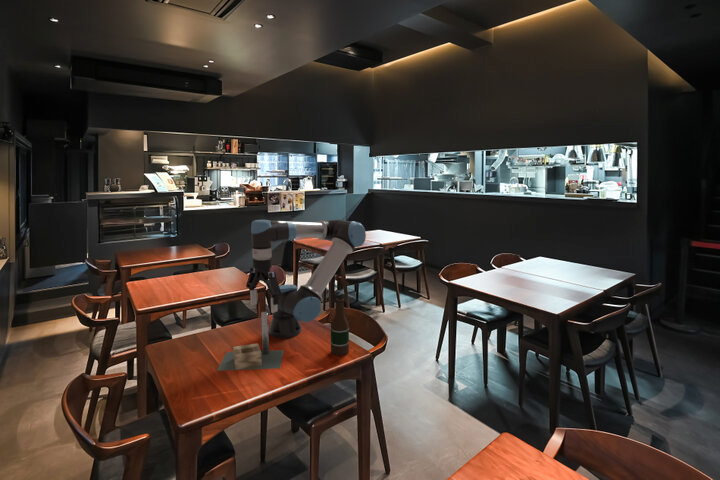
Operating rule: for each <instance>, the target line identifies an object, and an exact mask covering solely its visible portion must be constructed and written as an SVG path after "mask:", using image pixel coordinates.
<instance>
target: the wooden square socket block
mask: <svg viewBox="0 0 720 480" xmlns="http://www.w3.org/2000/svg"><path fill="white" fill-rule="evenodd" d="M232 348H233V349H232V352H233V353H234V363H235V370H234V371H237V370H236V369H242V368H248V367H254V366H260V365H262V359H261V351H262V350H261V348H260V345H259V343H250V344H244V345H237V346H233V347H232Z"/></svg>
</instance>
